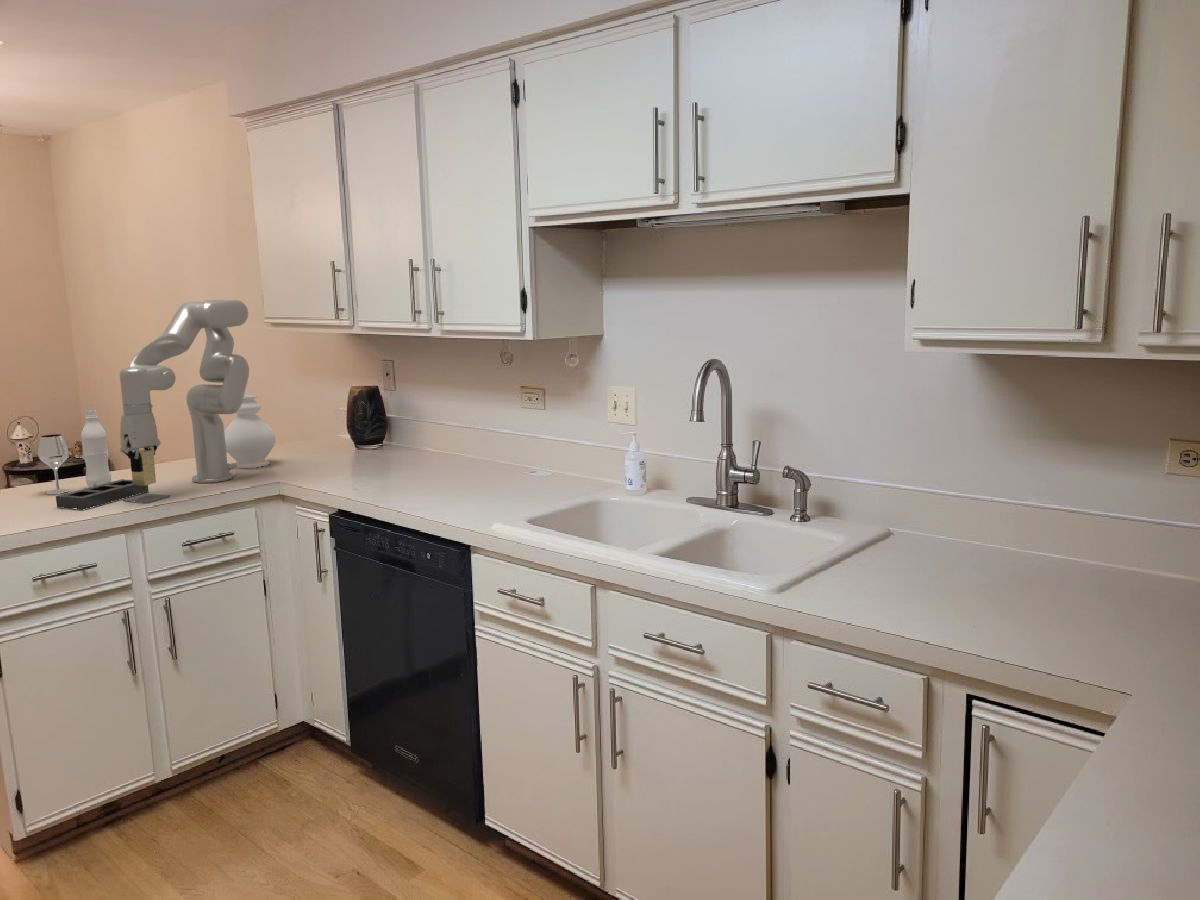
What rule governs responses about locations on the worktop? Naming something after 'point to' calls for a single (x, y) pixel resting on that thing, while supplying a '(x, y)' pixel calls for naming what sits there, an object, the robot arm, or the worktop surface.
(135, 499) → the grey rubber mat
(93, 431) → the water bottle
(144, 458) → the brass peg
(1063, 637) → the worktop surface
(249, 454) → the decorative vase
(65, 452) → the wineglass
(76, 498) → the dark grey compartment tray
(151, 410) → the robot arm
